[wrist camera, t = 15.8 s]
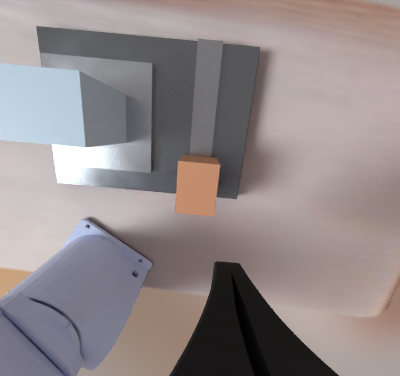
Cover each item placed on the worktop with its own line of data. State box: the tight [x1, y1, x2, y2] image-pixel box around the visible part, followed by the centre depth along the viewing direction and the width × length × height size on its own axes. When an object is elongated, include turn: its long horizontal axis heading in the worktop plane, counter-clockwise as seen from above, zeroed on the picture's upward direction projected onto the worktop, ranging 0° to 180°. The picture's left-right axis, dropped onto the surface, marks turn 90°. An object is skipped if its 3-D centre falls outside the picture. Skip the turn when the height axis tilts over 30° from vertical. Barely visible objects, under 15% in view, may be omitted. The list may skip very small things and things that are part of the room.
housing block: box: [0, 63, 127, 148], centre depth 13 cm, size 5×4×6 cm
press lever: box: [175, 155, 220, 216], centre depth 16 cm, size 3×4×4 cm
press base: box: [36, 26, 260, 199], centre depth 17 cm, size 18×13×2 cm
